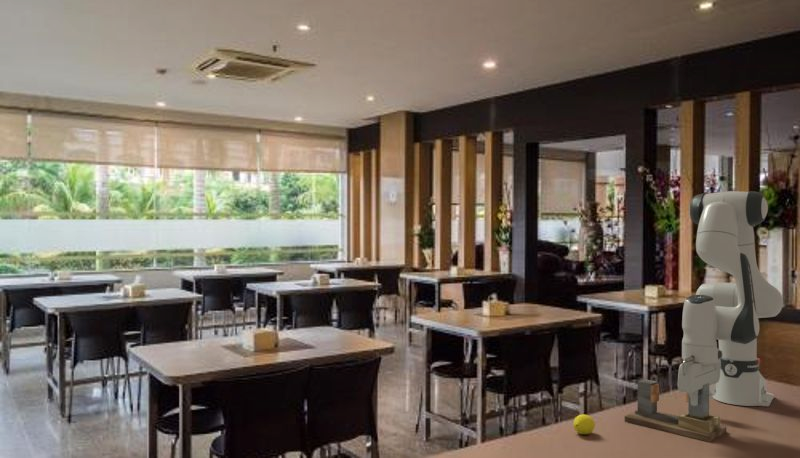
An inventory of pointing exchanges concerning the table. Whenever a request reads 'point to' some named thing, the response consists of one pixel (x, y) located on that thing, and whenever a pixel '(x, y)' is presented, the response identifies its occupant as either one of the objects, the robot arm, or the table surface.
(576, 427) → the lemon
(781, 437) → the table surface
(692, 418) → the rail
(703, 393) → the grey metal slab
